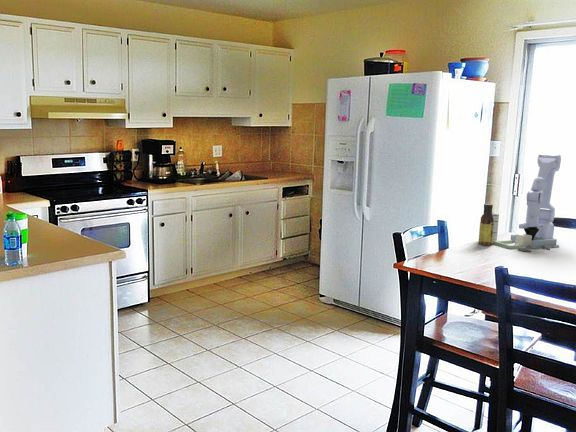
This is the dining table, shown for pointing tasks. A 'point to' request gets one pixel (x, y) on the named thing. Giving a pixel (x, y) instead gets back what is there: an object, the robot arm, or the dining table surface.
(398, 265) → the dining table surface
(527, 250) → the hole marker
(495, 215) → the syrup box
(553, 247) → the crook tool
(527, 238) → the cube
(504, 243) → the pale green flat block
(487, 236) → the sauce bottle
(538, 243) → the pale blue square frame
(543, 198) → the robot arm
